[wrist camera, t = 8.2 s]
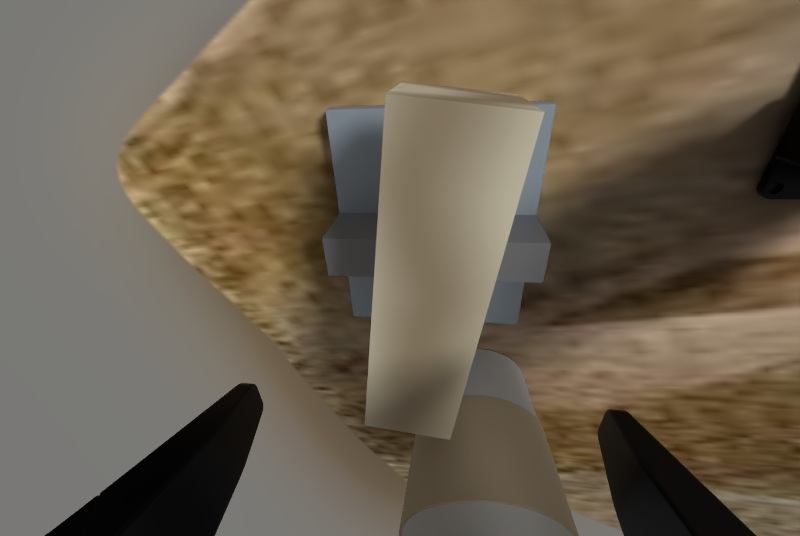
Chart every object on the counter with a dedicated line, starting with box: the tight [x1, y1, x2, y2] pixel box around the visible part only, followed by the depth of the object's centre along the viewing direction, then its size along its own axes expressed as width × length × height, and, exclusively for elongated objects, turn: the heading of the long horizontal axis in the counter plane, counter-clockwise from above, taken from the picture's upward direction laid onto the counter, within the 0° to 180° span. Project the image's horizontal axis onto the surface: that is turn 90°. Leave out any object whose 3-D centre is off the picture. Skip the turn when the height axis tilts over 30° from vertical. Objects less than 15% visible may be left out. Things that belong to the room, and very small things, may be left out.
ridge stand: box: [322, 101, 556, 324], centre depth 18 cm, size 10×12×4 cm
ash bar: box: [365, 81, 545, 440], centre depth 14 cm, size 4×14×4 cm, turn 175°
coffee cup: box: [399, 349, 579, 536], centre depth 19 cm, size 9×9×15 cm
